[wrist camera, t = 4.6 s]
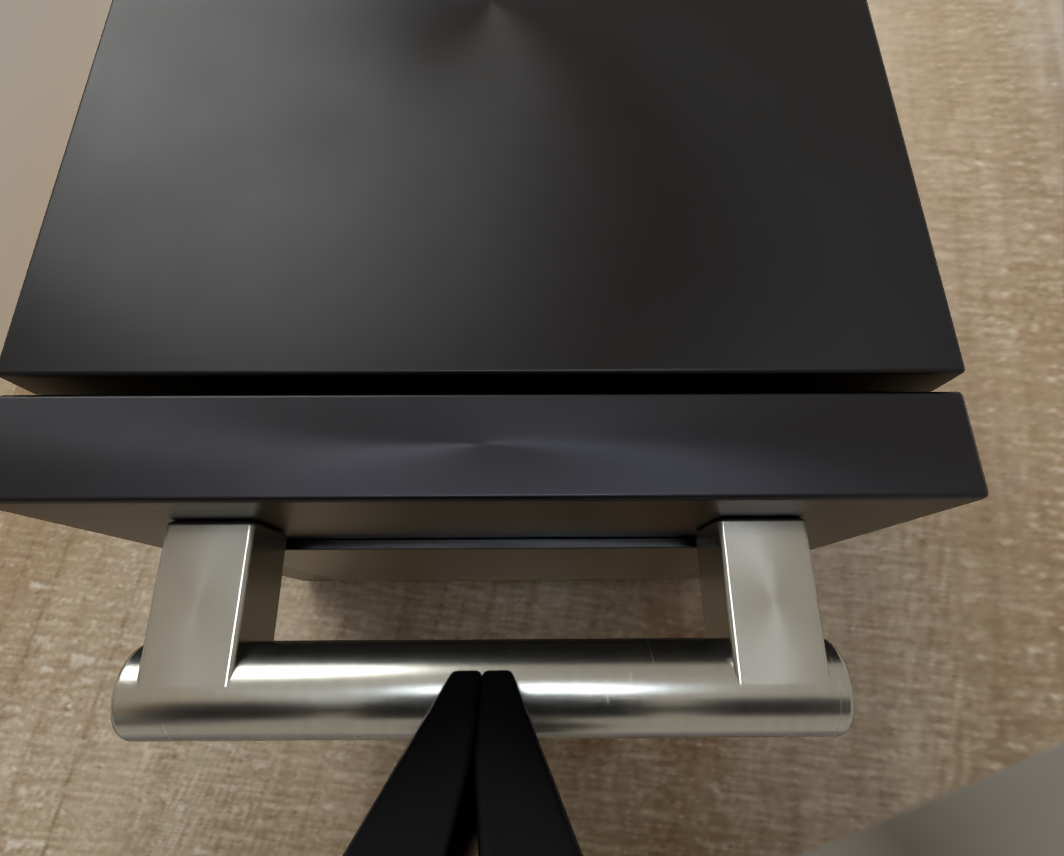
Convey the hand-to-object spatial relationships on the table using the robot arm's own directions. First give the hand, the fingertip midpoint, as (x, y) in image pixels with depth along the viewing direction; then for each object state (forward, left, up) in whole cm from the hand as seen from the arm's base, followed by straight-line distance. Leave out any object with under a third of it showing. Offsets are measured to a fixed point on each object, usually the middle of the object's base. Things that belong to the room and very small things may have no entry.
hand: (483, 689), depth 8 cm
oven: (+11, -5, -12) cm, 17 cm away
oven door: (+1, -1, -12) cm, 12 cm away
